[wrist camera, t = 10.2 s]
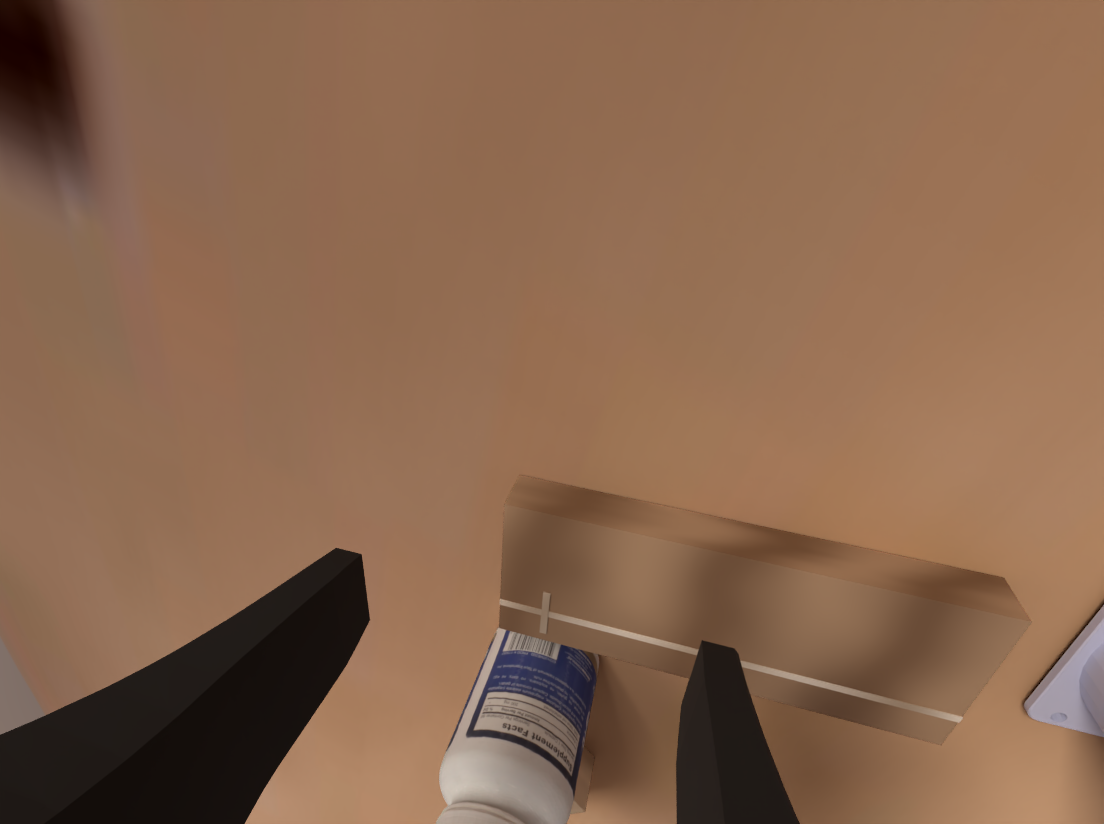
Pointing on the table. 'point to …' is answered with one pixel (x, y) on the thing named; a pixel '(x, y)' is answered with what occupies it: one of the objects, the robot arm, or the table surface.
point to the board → (756, 606)
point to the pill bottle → (520, 734)
